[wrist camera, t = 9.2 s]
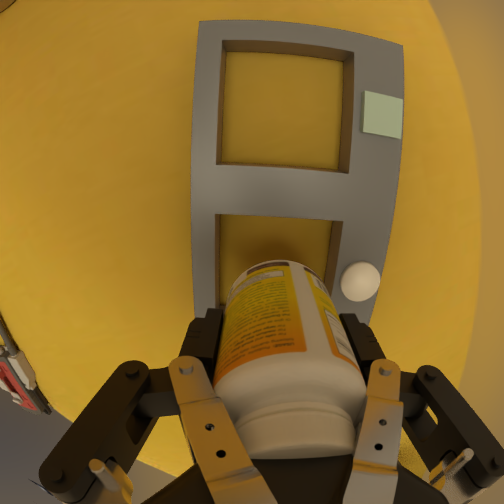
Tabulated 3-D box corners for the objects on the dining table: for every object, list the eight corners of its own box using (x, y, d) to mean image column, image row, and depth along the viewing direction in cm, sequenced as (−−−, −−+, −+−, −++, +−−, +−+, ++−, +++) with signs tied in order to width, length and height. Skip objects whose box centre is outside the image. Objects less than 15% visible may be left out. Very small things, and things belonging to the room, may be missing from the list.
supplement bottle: (214, 323, 17) (180, 485, 7) (249, 239, 15) (234, 407, 5) (300, 350, 17) (322, 503, 8) (344, 276, 15) (424, 431, 6)
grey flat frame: (206, 34, 15) (197, 17, 13) (388, 54, 15) (406, 43, 13) (201, 319, 23) (194, 342, 21) (355, 324, 23) (365, 346, 20)
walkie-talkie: (64, 410, 32) (-2, 296, 24) (52, 430, 27) (-23, 313, 20) (30, 401, 32) (-29, 297, 25) (19, 418, 28) (-47, 312, 21)
